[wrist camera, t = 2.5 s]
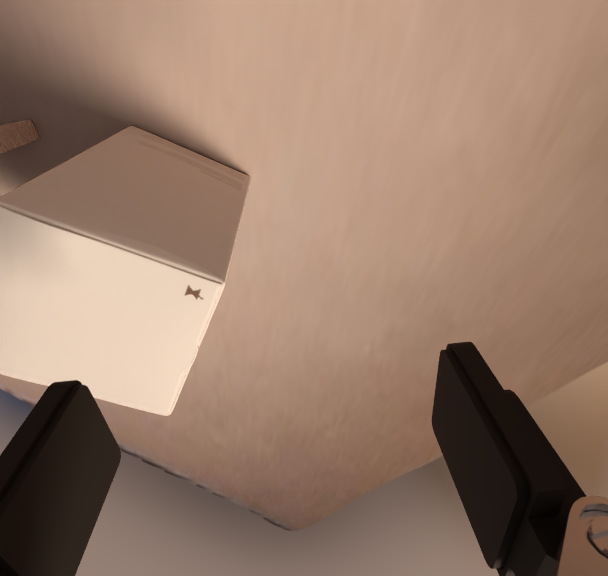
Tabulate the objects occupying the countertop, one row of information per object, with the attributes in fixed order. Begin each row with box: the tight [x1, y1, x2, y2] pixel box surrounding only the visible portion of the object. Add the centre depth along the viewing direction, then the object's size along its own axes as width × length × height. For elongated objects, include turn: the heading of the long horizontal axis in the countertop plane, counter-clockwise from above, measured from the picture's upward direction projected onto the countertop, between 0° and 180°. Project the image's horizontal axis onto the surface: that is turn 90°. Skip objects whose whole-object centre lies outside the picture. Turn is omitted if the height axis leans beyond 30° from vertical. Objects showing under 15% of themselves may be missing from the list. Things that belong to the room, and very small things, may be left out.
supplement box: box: [0, 126, 251, 416], centre depth 23 cm, size 9×9×15 cm
